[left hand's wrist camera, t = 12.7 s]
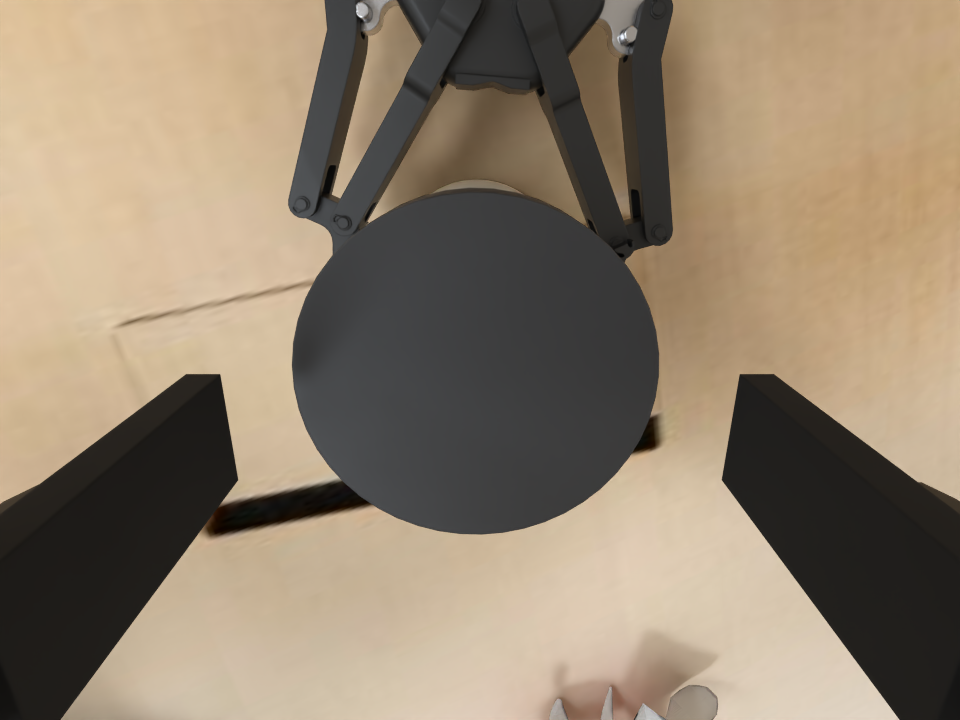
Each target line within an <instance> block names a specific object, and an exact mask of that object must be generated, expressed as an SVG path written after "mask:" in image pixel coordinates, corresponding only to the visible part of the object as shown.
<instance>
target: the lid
mask: <svg viewBox="0 0 960 720" xmlns="http://www.w3.org/2000/svg"><path fill="white" fill-rule="evenodd" d="M292 371H293V382H294V390H295V394H296V399H297V403H298V408H299V411H300V414H301V416H302V419H303V422H304V424H305V427H306V429H307V432H308V433H309V435H310V437H311V439H312V441H313V443H314V445H315V446H316V448H317V450H318V451H319V453H320V454H321V456H322V457H323V458H324V460H325V461H326V463H327V464H328V465H329V467H330V468H331V469H332V470H333V471H334V472H335V473H336V474H337V475H338V476H339V478H340V479H341V480H342V481H343V482H344V483H345V484H346V485H348V486H349V487H350V488H351V489H352V490H353V491H355V492H356V493H357V494H358V495H359V496H361V497H362V498H363V499H365V500H366V501H368V502H370V503H371V504H373V505H374V506H376V507H377V508H379V509H381V510H382V511H384V512H386V513H388V514H390V515H392V516H394V517H396V518H398V519H401V520H404V521H406V522H409V523H412V524H415V525H417V526H421V527H425V528H429V529H433V530H437V531H443V532H450V533H457V534H492V533H504V532H509V531H514V530H519V529H524V528H527V527H530V526H534V525H537V524H540V523H543V522H546V521H548V520H550V519H553V518H555V517H557V516H559V515H562V514H564V513H566V512H567V511H569V510H571V509H572V508H574V507H576V506H577V505H579V504H581V503H583V502H584V501H585V500H587V499H588V498H589V497H591V496H592V495H593V494H594V493H596V492H597V491H598V490H600V489H601V488H602V487H603V486H604V485H605V484H606V483H607V482H608V481H609V480H610V479H611V478H612V477H613V476H614V475H615V474H616V473H617V472H618V471H619V469H620V468H621V467H622V466H623V464H624V463H625V462H626V461H627V459H628V458H629V457H630V455H631V453H632V452H633V450H634V448H635V447H636V445H637V444H638V442H639V440H640V439H641V436H642V434H643V432H644V430H645V427H646V425H647V423H648V421H649V418H650V415H651V411H652V408H653V404H654V401H655V397H656V391H657V384H658V378H659V350H658V342H657V335H656V329H655V326H654V322H653V318H652V315H651V311H650V308H649V306H648V304H647V301H646V299H645V297H644V295H643V292H642V290H641V288H640V286H639V284H638V283H637V281H636V280H635V278H634V276H633V275H632V273H631V272H630V270H629V268H628V267H627V265H626V264H625V263H624V262H623V261H622V260H621V258H620V257H619V256H618V255H617V254H616V253H615V251H614V250H613V249H612V248H611V247H610V246H609V245H608V244H607V243H606V242H604V241H603V240H602V239H601V238H600V237H599V236H598V235H597V234H595V233H594V232H593V231H592V230H590V229H589V228H587V227H586V226H584V225H583V224H581V223H580V222H578V221H577V220H575V219H574V218H572V217H571V216H569V215H568V214H566V213H565V212H563V211H562V210H560V209H558V208H556V207H554V206H552V205H549V204H547V203H545V202H543V201H541V200H539V199H536V198H533V197H529V196H526V195H523V194H520V193H517V192H511V191H505V190H500V189H494V188H461V189H452V190H444V191H440V192H436V193H432V194H428V195H424V196H421V197H419V198H416V199H414V200H411V201H409V202H406V203H403V204H401V205H399V206H398V207H396V208H394V209H392V210H391V211H389V212H387V213H385V214H383V215H382V216H380V217H378V218H377V219H375V220H374V221H372V222H370V223H369V224H367V225H366V226H365V227H364V228H362V229H361V230H360V231H358V232H357V233H356V234H354V235H353V236H352V237H351V238H349V239H348V240H347V241H346V242H345V243H344V244H343V245H342V246H341V247H340V248H339V249H338V250H337V251H336V253H335V254H334V255H333V256H332V257H331V258H330V259H329V261H328V262H327V263H326V265H325V266H324V268H323V269H322V270H321V272H320V273H319V274H318V276H317V277H316V279H315V281H314V283H313V285H312V287H311V289H310V291H309V292H308V294H307V296H306V298H305V301H304V304H303V307H302V310H301V312H300V315H299V318H298V321H297V326H296V331H295V336H294V341H293V356H292Z"/></svg>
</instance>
